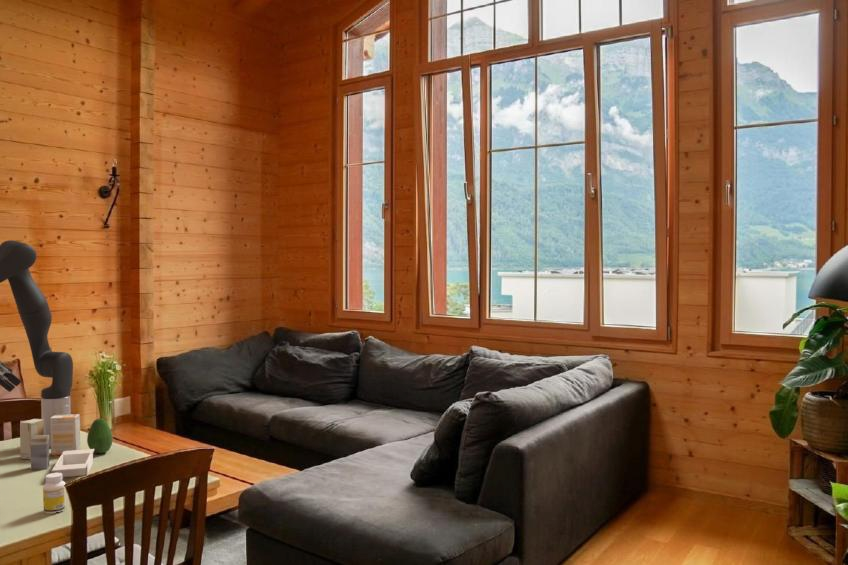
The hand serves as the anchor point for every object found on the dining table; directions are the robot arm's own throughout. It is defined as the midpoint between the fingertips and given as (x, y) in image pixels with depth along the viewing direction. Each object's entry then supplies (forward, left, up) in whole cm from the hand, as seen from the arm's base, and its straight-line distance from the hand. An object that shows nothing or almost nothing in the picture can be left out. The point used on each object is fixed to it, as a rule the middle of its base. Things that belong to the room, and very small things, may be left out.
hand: (16, 386), depth 223 cm
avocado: (-10, +23, -26) cm, 36 cm away
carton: (+7, +17, -26) cm, 32 cm away
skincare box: (-12, +2, -26) cm, 29 cm away
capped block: (+2, +7, -26) cm, 27 cm away
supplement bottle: (+44, +18, -26) cm, 54 cm away
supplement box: (-13, +12, -26) cm, 32 cm away
